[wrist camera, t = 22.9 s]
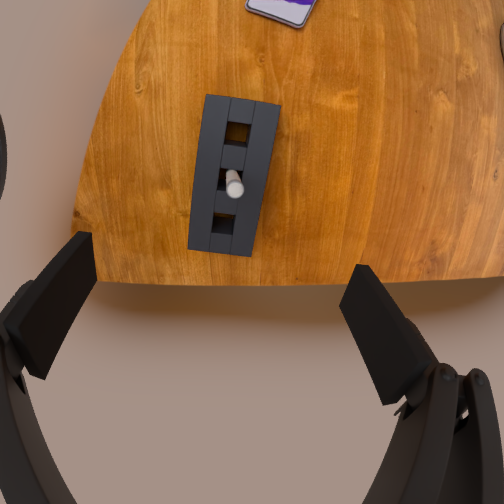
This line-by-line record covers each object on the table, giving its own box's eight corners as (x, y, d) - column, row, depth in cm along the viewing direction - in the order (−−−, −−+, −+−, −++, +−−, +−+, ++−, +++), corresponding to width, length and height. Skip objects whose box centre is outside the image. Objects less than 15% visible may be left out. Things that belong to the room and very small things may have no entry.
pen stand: (192, 231, 36) (187, 249, 32) (210, 96, 28) (206, 94, 24) (248, 238, 37) (251, 257, 33) (274, 106, 29) (281, 105, 25)
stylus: (225, 175, 33) (225, 197, 19) (226, 165, 32) (227, 179, 19) (235, 176, 33) (242, 199, 19) (237, 166, 33) (245, 182, 19)
